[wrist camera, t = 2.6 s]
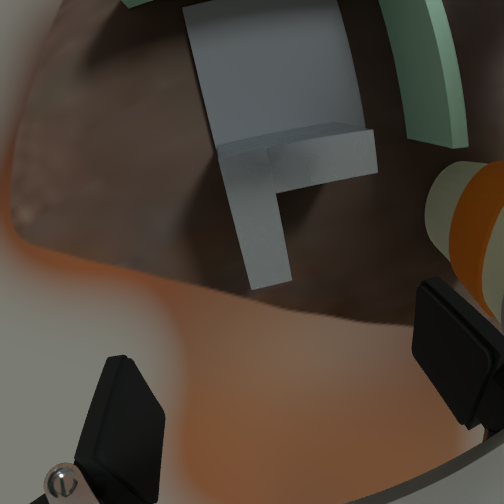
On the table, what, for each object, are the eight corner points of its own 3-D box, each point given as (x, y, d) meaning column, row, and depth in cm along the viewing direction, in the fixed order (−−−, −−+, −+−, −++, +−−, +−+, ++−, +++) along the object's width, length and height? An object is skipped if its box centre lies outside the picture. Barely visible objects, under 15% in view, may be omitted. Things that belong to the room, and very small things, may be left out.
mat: (182, 9, 17) (182, 7, 17) (331, -12, 17) (333, -13, 17) (217, 156, 22) (217, 156, 21) (364, 128, 22) (365, 128, 21)
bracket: (218, 144, 21) (218, 158, 16) (336, 121, 21) (373, 129, 16) (244, 247, 25) (251, 290, 19) (349, 222, 25) (382, 257, 19)
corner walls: (125, -7, 16) (99, -38, 10) (380, -38, 16) (416, -65, 10) (171, 186, 22) (154, 209, 17) (421, 136, 22) (468, 146, 17)
